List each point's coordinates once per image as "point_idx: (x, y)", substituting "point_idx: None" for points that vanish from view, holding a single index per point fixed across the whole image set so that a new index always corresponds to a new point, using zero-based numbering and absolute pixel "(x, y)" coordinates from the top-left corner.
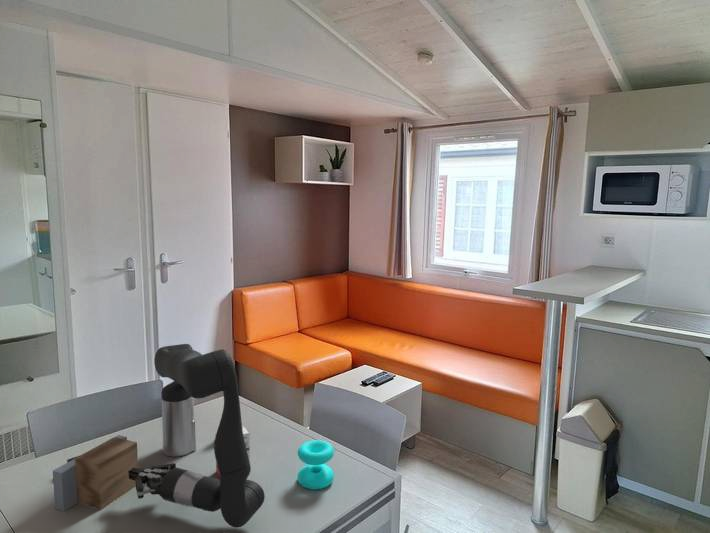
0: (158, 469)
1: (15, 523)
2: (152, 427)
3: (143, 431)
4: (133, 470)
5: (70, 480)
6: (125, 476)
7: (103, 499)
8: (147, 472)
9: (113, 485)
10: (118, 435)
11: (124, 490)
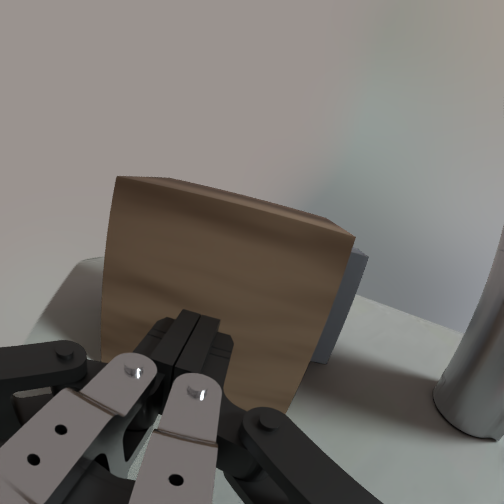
0: (205, 497)
1: (86, 263)
2: (444, 334)
3: (428, 330)
4: (184, 322)
5: None
6: None
7: (111, 343)
8: (166, 407)
9: None
10: (356, 248)
11: None
